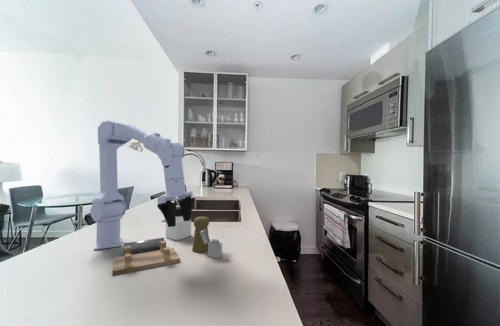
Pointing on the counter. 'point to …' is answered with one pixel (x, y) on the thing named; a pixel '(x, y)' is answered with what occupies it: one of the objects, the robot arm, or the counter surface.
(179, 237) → the medicine bottle
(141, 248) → the tube
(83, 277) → the counter surface
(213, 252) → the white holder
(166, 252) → the stand
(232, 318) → the counter surface
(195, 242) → the cork
